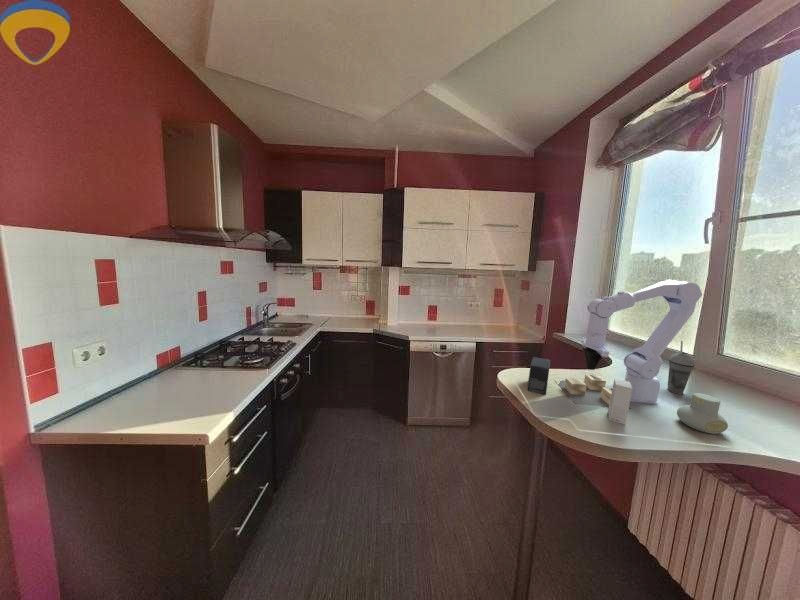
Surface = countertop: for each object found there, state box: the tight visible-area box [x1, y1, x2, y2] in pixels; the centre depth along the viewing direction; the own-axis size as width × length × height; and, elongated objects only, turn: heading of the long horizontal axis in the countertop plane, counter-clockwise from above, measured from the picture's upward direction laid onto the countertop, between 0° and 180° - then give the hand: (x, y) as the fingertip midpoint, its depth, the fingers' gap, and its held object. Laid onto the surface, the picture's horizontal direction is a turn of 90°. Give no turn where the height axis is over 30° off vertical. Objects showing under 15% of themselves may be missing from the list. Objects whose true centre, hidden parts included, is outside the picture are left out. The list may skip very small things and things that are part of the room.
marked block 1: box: [583, 373, 607, 391], centre depth 114 cm, size 5×5×4 cm
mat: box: [558, 379, 632, 410], centre depth 109 cm, size 18×19×1 cm
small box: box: [527, 356, 551, 396], centre depth 111 cm, size 11×6×10 cm, turn 152°
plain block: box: [564, 377, 587, 395], centre depth 109 cm, size 5×5×4 cm
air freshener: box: [676, 392, 729, 435], centre depth 90 cm, size 11×8×10 cm
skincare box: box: [607, 378, 633, 425], centre depth 92 cm, size 6×4×12 cm
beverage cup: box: [667, 340, 695, 395], centre depth 114 cm, size 7×7×20 cm
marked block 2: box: [600, 386, 613, 405], centre depth 103 cm, size 5×5×4 cm
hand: (590, 368), depth 108 cm, fingers closed
